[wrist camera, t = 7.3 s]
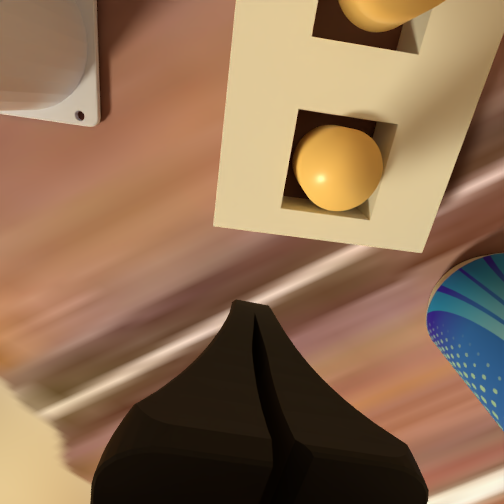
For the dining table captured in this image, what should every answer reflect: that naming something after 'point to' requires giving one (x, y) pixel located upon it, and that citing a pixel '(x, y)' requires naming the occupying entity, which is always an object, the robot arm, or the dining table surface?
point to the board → (355, 106)
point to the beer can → (473, 327)
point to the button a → (337, 166)
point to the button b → (384, 12)
